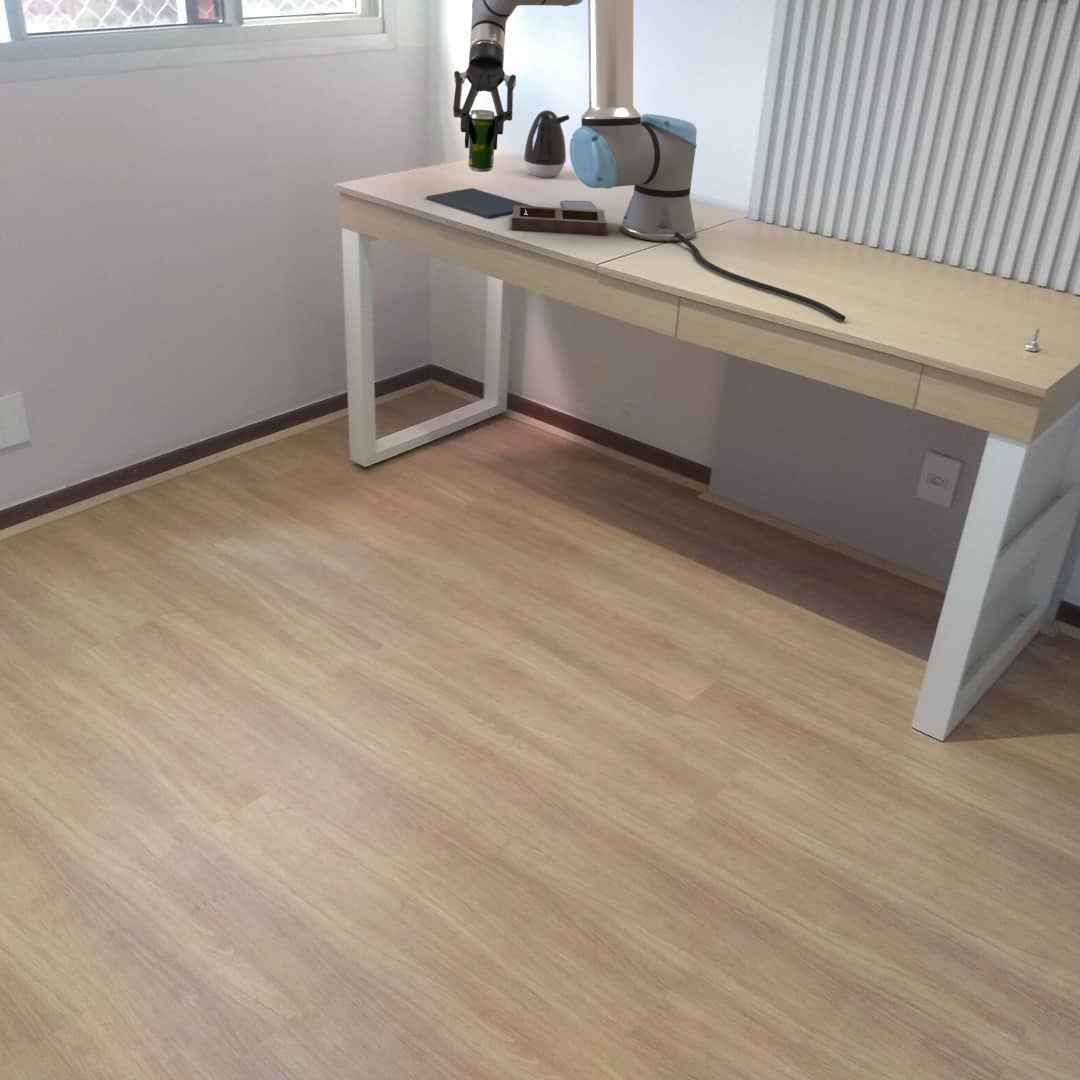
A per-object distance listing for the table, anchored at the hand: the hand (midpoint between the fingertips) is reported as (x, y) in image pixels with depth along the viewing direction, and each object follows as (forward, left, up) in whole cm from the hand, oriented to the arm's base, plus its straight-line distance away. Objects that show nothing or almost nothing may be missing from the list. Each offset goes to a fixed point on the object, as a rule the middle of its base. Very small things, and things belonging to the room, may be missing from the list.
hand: (480, 145), depth 247 cm
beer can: (+3, -3, -6) cm, 7 cm away
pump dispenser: (+14, -36, -14) cm, 41 cm away
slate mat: (+2, -3, -13) cm, 14 cm away
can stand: (-20, -4, -13) cm, 25 cm away
